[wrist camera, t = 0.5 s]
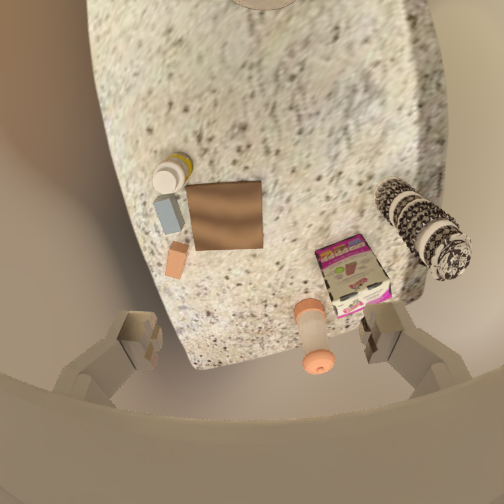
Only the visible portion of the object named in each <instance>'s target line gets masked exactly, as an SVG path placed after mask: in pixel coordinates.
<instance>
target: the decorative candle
mask: <svg viewBox="0 0 504 504" xmlns="http://www.w3.org/2000/svg"><path fill="white" fill-rule="evenodd" d="M373 201H374V204H375V207H376V208H377V209H378V210H379V211H380V213H381V214H382V215H383V214H384V218H387V221H388V222H390V225H391V226H394V227H395V228H396V229H397V230H398V231H399V236H401V237H402V238H403V241H404V242H406V244H407V247H408V248H410V251H411V253H412V254H414V256H415V257H416V258H418V257H419V258H420V259H419V264H420V265H424V266H427V267H429V268H430V269H431V274H432V276H433V277H434V278H435V279H436V280H440V281H445V280H450V279H454V278H456V277H458V276H459V275H461V274H462V273H463V272H464V271H465V269H466V267H467V266H468V265H469V262H470V258H471V252H472V243H471V240H470V238H469V237H468V236H467V235H465V234H463V233H462V232H461V231H460V230H459V225H458V224H457V223H455V219H454V218H453V217H451V216H450V215H449V214H446V213H445V212H444V211H443V210H442V209H439V207H438V206H435V205H434V204H433V203H432V202H430V201H428V200H426V199H423V198H422V196H420V195H419V192H418V191H415V189H414V188H411V186H410V185H409V184H407V183H406V182H403V181H402V180H401V179H399V178H397V177H388V178H386V179H384V180H382V181H381V182H380V183H379V184H378V185H377V186H376V189H375V191H374V195H373ZM448 220H449V221H448ZM414 248H415V249H414ZM418 253H419V254H418ZM421 259H422V260H423V261H422V260H421Z"/></svg>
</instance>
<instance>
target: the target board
mask: <svg viewBox="0 0 504 504" xmlns="http://www.w3.org/2000/svg"><path fill="white" fill-rule="evenodd" d="M186 191H187V198H188V205H189V212H190V218H191V225H192V231H193V237H194V243H195V249H196V251H204V250H232V249H260V248H263V227H262V195H261V181H245V182H225V183H209V184H195V185H187V186H186Z"/></svg>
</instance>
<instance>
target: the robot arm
mask: <svg viewBox="0 0 504 504" xmlns="http://www.w3.org/2000/svg"><path fill="white" fill-rule="evenodd" d="M233 1H234V2H236V3H237V4H239V5H241V6H244V7H247V8H251V9H256V10H272V9H278V8H282V7H284V6H287V5H289V4H291V3H292V2H294V1H295V0H233ZM363 313H364V317H363V318H362V319H361V320H360V325H359V335H360V339H361V342H362V343H363V344H365V345H366V348H365V350H364V352H365V355H366V358H367V361H368V364H372V363H380V362H386V361H388V363H389V364H390V365H391V366H392V367H393V368H394V369H395V370H396V371H397V372H398V373H399V374H400V375H401V376H402V377H403V378H404V379H405V380H406V381H407V382H408V383H410V385H412V386H413V387H414V388H415V391H414V392H413V393H412V395H411V396H410V398H409V399H408V400H405V401H401V402H397V403H393V404H388V405H384V406H379V407H375V408H370V409H364V410H359V411H353V412H347V413H340V414H334V415H326V416H317V417H308V418H296V419H282V420H260V421H259V420H255V421H230V420H204V419H190V418H178V417H169V416H160V415H153V414H145V413H139V412H133V411H127V410H122V409H117V408H116V406H115V405H114V404H113V403H112V401H111V400H110V398H111V397H112V396H113V395H114V394H115V392H116V391H117V390H118V389H119V388H120V387H121V386H122V385H123V384H124V383H125V382H126V381H127V380H128V379H129V378H130V377H131V375H132V374H133V373H134V372H135V371H136V370H147V371H148V370H149V371H155V368H156V364H157V361H158V356H157V354H156V353H157V352H158V351H159V350H161V347H162V341H163V335H162V331H161V328H160V327H159V326H158V325H157V324H156V321H157V318H156V315H155V313H153V312H140V311H121V310H120V311H119V312H118V313H117V314H116V316H115V318H114V321H113V322H112V325H111V327H110V329H109V331H108V333H107V336H106V337H105V339H101V340H100V341H98V342H97V343H96V344H94V345H93V346H92V347H90V348H89V349H88V350H86V351H85V352H84V353H82V354H81V355H80V356H79V357H77V358H76V359H74V360H73V361H72V362H70V363H69V364H68V365H66V366H65V367H64V368H63V369H62V371H61V373H60V375H59V377H58V379H57V381H56V384H55V386H54V388H53V390H52V392H51V391H48V390H45V389H42V388H39V387H36V386H33V385H31V384H28V383H26V382H23V381H20V380H18V379H15V378H13V377H11V376H8V375H6V374H4V373H1V372H0V504H504V365H503V366H500V367H499V368H496V369H494V370H492V371H490V372H487V373H485V374H482V375H480V376H478V377H475V378H473V379H472V377H471V375H470V373H469V371H468V369H467V367H466V365H465V363H464V361H463V359H462V357H461V356H460V355H459V354H457V353H456V352H455V351H453V350H452V349H450V348H449V347H447V346H446V345H444V344H443V343H441V342H440V341H438V340H437V339H435V338H434V337H432V336H431V335H429V334H428V333H426V332H425V331H423V330H422V329H420V328H416V326H415V325H414V323H413V321H412V319H411V317H410V315H409V313H408V311H407V310H406V308H405V306H404V304H403V302H402V301H400V300H397V301H390V302H382V303H373V304H366V305H365V307H364V310H363Z"/></svg>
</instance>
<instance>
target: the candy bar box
mask: <svg viewBox="0 0 504 504" xmlns="http://www.w3.org/2000/svg"><path fill="white" fill-rule="evenodd" d="M315 255H316V258H317V261H318V264H319V267H320V269H321V272H322V275H323V278H324V281H325V284H326V287H327V290H328V293H329V296H330V299H331V302H332V305H333V307H334V310H335V313H336V316H337V318H338V319H339V318H342V317H344V316H347V315H350V314H352V313H355V312H357V311H360V310H362V309H364V307H365V305H366V304H373V303H380V302H382V301H385V300H387V299H389V298H392V293H391V285H390V279H389V277H388V275H387V274H386V272H385V270H384V269H383V267H382V266H381V264H380V262H379V261H378V259H377V258H376V256H375V255H374V253H373V251H372V250H371V248H370V247H369V245H368V244H367V242H366V241H365V239H364V237H363V236H362V235H361V234H358V235H356V236H353V237H351V238H348V239H346V240H343V241H341V242H338V243H336V244H333V245H330V246H328V247H325V248H323V249H320V250H317V251H315Z"/></svg>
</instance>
